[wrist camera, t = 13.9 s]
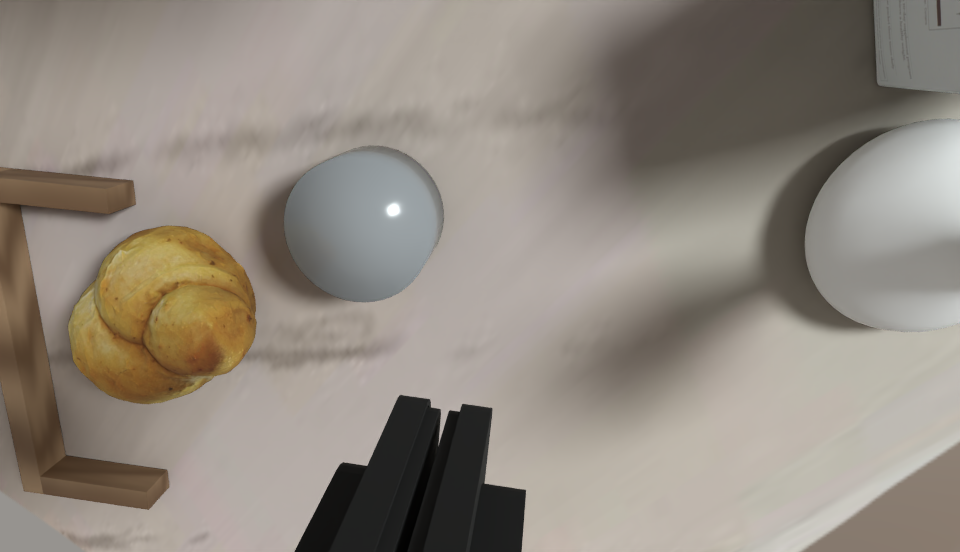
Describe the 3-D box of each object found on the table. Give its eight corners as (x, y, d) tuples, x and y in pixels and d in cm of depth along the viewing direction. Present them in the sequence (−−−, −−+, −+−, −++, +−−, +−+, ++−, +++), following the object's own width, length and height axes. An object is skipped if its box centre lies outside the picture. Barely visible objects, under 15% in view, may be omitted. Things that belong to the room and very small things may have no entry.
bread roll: (174, 404, 45) (96, 476, 37) (73, 300, 43) (-31, 353, 35) (302, 307, 41) (244, 365, 33) (197, 187, 39) (110, 220, 31)
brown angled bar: (-9, 166, 40) (-45, 173, 38) (133, 180, 39) (105, 188, 37) (50, 469, 48) (24, 491, 45) (169, 486, 47) (148, 509, 45)
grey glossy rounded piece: (313, 139, 37) (281, 150, 33) (448, 152, 36) (433, 165, 32) (314, 267, 40) (285, 293, 36) (440, 282, 39) (425, 310, 35)
